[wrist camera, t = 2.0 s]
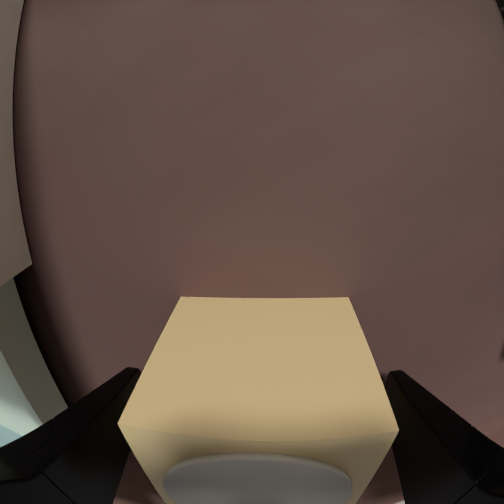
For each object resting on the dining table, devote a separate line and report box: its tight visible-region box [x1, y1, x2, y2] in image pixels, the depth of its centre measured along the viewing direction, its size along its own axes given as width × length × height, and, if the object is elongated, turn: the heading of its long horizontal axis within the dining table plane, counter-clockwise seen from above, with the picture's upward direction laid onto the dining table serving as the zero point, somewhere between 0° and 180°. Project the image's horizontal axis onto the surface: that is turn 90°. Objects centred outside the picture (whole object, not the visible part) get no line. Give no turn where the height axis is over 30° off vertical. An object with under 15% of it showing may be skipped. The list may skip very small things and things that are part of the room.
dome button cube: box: [118, 297, 399, 504], centre depth 8 cm, size 5×5×5 cm
